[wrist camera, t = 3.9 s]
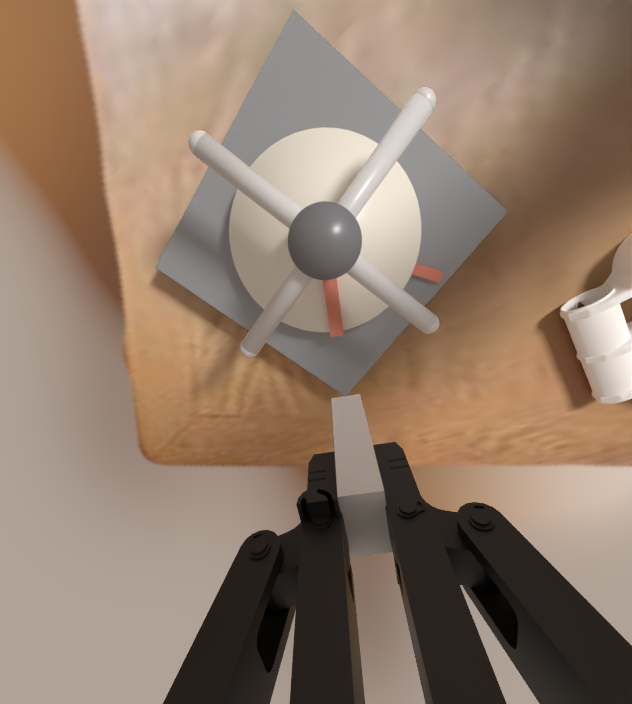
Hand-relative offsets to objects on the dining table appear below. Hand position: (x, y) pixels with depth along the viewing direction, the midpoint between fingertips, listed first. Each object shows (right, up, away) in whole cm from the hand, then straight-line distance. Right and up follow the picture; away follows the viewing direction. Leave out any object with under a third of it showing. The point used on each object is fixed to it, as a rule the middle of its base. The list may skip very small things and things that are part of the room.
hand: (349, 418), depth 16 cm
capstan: (-1, +13, +11) cm, 17 cm away
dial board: (-1, +14, +13) cm, 19 cm away
